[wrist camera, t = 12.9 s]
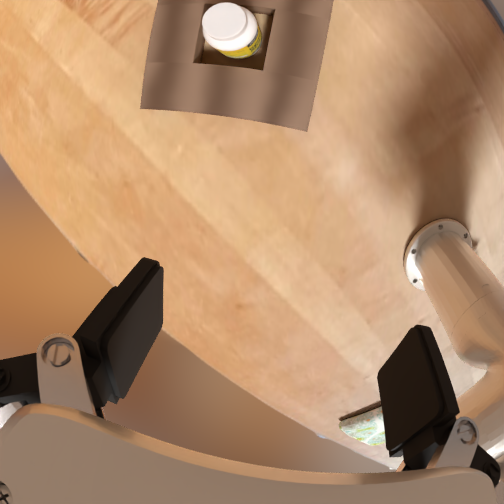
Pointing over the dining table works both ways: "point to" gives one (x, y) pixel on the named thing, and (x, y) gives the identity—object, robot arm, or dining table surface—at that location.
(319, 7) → the walnut board
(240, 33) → the supplement bottle
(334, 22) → the dining table surface
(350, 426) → the towel
